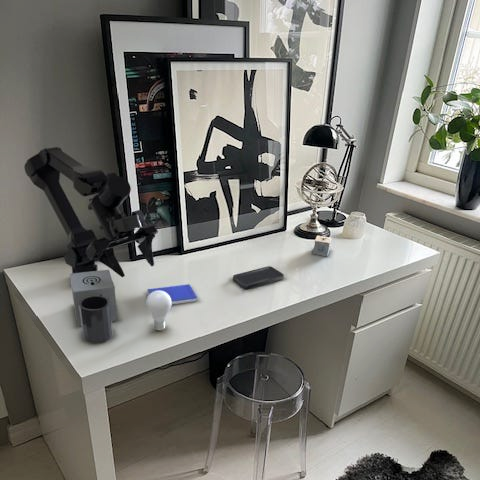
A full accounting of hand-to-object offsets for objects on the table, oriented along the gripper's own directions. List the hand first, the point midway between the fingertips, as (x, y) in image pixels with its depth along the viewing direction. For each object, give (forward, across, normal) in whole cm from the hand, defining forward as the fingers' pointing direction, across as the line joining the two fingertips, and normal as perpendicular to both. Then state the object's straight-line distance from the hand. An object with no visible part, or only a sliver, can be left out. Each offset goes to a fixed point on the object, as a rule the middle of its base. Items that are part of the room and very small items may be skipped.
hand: (138, 271), depth 126 cm
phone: (+14, +40, +5) cm, 43 cm away
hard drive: (+8, +13, +11) cm, 19 cm away
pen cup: (+10, -13, +9) cm, 19 cm away
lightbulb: (+15, 0, +4) cm, 16 cm away
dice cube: (+16, +72, +4) cm, 74 cm away
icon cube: (+3, -8, +16) cm, 18 cm away
